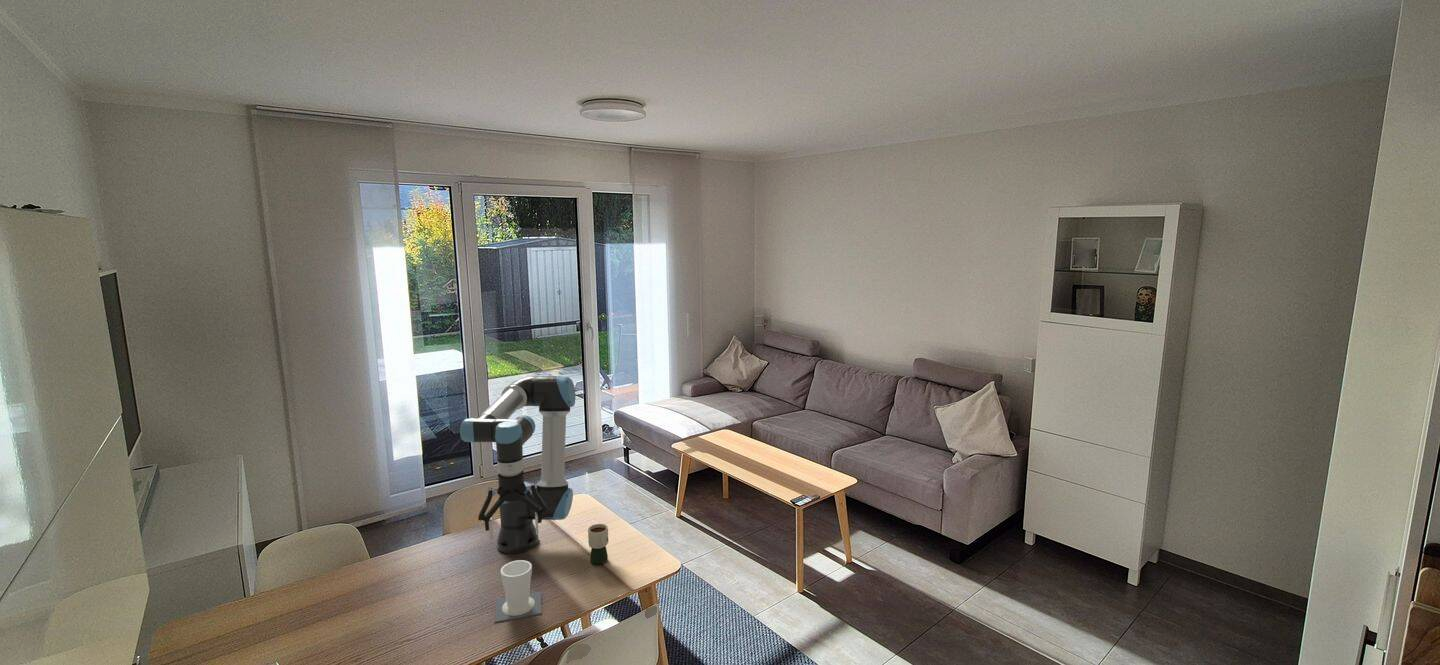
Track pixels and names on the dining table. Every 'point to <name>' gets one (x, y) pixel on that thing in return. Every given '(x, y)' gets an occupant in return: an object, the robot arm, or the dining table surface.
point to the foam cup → (517, 584)
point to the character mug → (598, 543)
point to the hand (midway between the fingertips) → (514, 535)
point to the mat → (505, 614)
